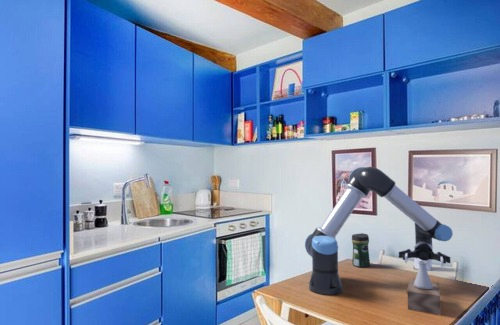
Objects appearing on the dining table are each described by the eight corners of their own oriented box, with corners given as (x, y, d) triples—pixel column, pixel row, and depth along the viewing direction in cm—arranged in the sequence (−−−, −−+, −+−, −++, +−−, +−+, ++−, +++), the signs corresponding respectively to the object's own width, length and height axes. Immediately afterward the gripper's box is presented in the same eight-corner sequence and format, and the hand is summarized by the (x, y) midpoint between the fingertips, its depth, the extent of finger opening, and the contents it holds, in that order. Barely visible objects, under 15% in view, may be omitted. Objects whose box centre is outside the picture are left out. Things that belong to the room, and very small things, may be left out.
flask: (436, 290, 124) (435, 264, 124) (416, 289, 125) (416, 264, 126) (429, 284, 131) (428, 260, 131) (410, 283, 132) (410, 259, 133)
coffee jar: (362, 263, 190) (361, 232, 191) (372, 266, 183) (371, 234, 183) (349, 264, 186) (349, 233, 187) (359, 268, 179) (358, 235, 179)
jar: (435, 269, 175) (434, 248, 175) (424, 271, 172) (424, 249, 173) (421, 265, 183) (420, 244, 184) (411, 267, 180) (410, 246, 181)
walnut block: (407, 309, 123) (407, 291, 124) (409, 295, 137) (408, 279, 138) (440, 314, 118) (440, 295, 118) (438, 300, 132) (438, 283, 132)
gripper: (454, 262, 146) (458, 274, 128) (395, 255, 159) (392, 266, 140) (454, 245, 147) (458, 255, 128) (395, 240, 159) (391, 249, 140)
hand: (423, 261), depth 134 cm, fingers open, 13 cm apart
